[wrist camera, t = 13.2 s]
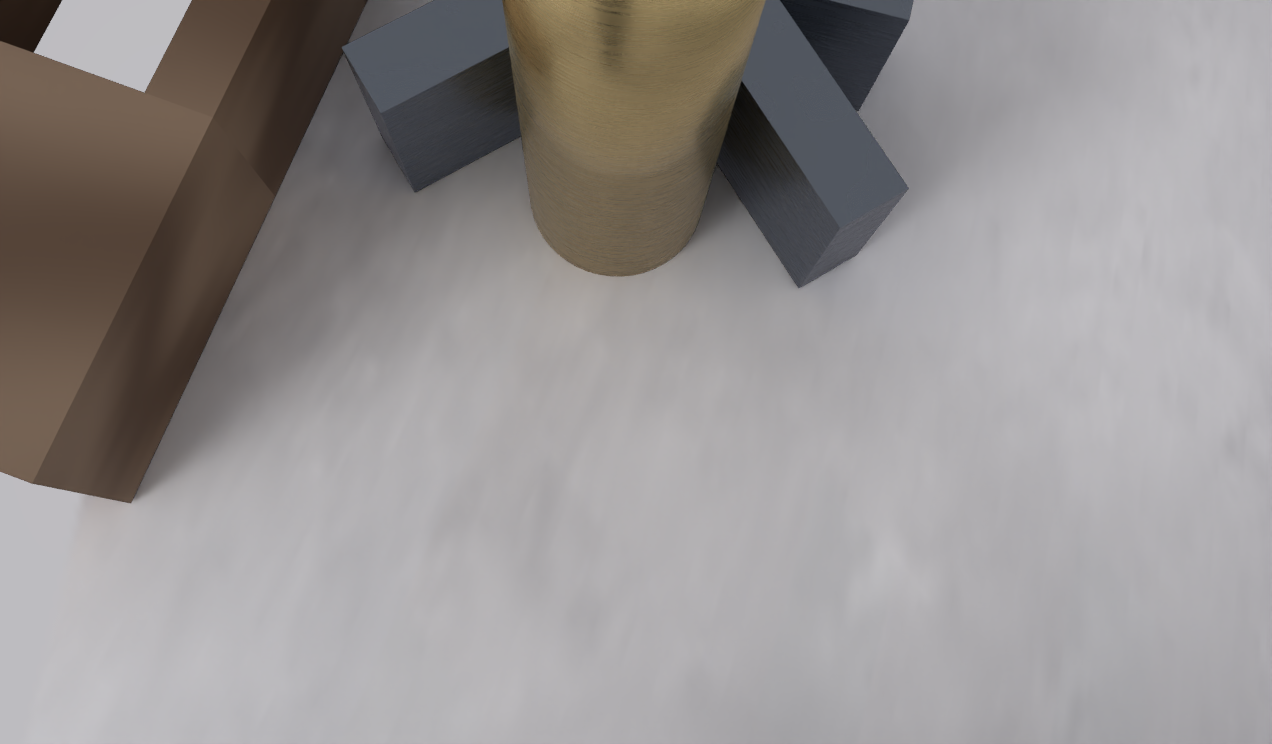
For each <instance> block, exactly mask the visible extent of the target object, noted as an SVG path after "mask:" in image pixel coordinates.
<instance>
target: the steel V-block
mask: <svg viewBox="0 0 1272 744" xmlns="http://www.w3.org/2000/svg"><path fill="white" fill-rule="evenodd" d="M912 5H913V0H766V1H765V4H764V7H763V11H762V14H761V17H760V21H759V24H758V27H757V31H756V34H755V37H754V40H753V44H752V47H751V50H750V54H749V57H748V60H747V64H746V67H745V70H744V74H743V77H742V80H741V83H740V87H739V90H738V93H737V97H736V100H735V103H734V107H733V110H732V113H731V116H730V120H729V123H728V126H727V130H726V133H725V136H724V140H723V143H722V146H721V149H720V153H719V156H718V159H717V164H718V165H719V167H720V168H721V170H722V172H723V173H724V175H725V176H726V178H727V179H728V181H729V182H730V184H731V185H732V187H733V188H734V190H735V191H736V193H737V195H738V196H739V198H740V199H741V201H742V202H743V204H744V205H745V207H746V208H747V210H748V211H749V213H750V214H751V216H752V218H753V219H754V221H755V222H756V224H757V225H758V227H759V228H760V230H761V231H762V233H763V234H764V236H765V237H766V239H767V241H768V242H769V244H770V245H771V247H772V248H773V250H774V251H775V253H776V254H777V256H778V257H779V259H780V260H781V262H782V264H783V265H784V267H785V268H786V270H787V271H788V273H789V274H790V276H791V277H792V279H793V280H794V282H795V283H796V285H797V286H798V288H801V287H802V286H804V285H806V284H807V283H809V282H811V281H813V280H814V279H816V278H818V277H819V276H821V275H823V274H825V273H826V272H828V271H830V270H831V269H833V268H835V267H837V266H838V265H840V264H842V263H843V262H845V261H847V260H849V259H850V258H852V257H854V256H855V255H857V254H858V252H859V251H860V250H861V249H862V247H863V246H864V245H865V243H866V242H867V241H868V240H869V238H870V237H871V236H872V235H873V233H874V232H875V231H876V230H877V228H878V227H879V226H880V224H881V223H882V222H883V221H884V219H885V218H886V217H887V216H888V214H889V213H890V212H891V211H892V209H893V208H894V207H895V205H896V204H897V203H898V202H899V200H900V199H901V198H902V197H903V195H904V194H905V193H906V191H907V190H908V189H909V188H908V187H907V185H906V184H905V182H904V181H903V179H902V178H901V176H900V175H899V173H898V172H897V170H896V169H895V168H894V166H893V165H892V163H891V162H890V160H889V159H888V157H887V156H886V154H885V153H884V151H883V150H882V149H881V147H880V146H879V144H878V143H877V141H876V140H875V138H874V137H873V135H872V134H871V132H870V131H869V130H868V128H867V127H866V125H865V124H864V122H863V121H862V119H861V118H860V116H859V115H858V114H857V112H856V111H855V110H857V111H859V109H860V107H861V106H862V104H863V102H864V100H865V99H866V97H867V95H868V93H869V91H870V90H871V88H872V86H873V84H874V82H875V81H876V79H877V77H878V75H879V73H880V72H881V70H882V68H883V66H884V64H885V63H886V61H887V59H888V57H889V55H890V54H891V52H892V50H893V48H894V47H895V45H896V43H897V41H898V39H899V38H900V36H901V34H902V32H903V30H904V29H905V27H906V25H907V23H908V21H909V19H910V14H911V9H912ZM342 49H343V52H344V54H345V56H346V58H347V61H348V63H349V65H350V67H351V69H352V72H353V74H354V76H355V78H356V80H357V83H358V85H359V87H360V89H361V91H362V94H363V96H364V98H365V100H366V103H367V105H368V107H369V109H370V111H371V114H372V116H373V118H374V120H375V122H376V125H377V127H378V129H379V131H380V134H381V136H382V138H383V139H384V141H385V143H386V144H387V146H388V148H389V149H390V151H391V153H392V154H393V156H394V158H395V159H396V161H397V163H398V165H399V166H400V168H401V170H402V171H403V173H404V175H405V176H406V178H407V180H408V181H409V183H410V185H411V186H412V188H413V190H414V192H417V191H419V190H421V189H422V188H424V187H426V186H428V185H430V184H432V183H434V182H436V181H437V180H439V179H441V178H443V177H445V176H447V175H449V174H451V173H453V172H454V171H456V170H458V169H460V168H462V167H464V166H466V165H468V164H469V163H471V162H473V161H475V160H477V159H479V158H481V157H483V156H484V155H486V154H488V153H490V152H492V151H494V150H496V149H498V148H499V147H501V146H503V145H505V144H507V143H509V142H511V141H513V140H514V139H516V138H518V137H520V136H521V131H520V124H519V116H518V109H517V102H516V95H515V88H514V81H513V74H512V67H511V60H510V53H509V46H508V38H507V31H506V24H505V17H504V10H503V3H502V0H434V1H432V2H430V3H428V4H426V5H424V6H422V7H420V8H418V9H416V10H414V11H412V12H410V13H408V14H406V15H404V16H402V17H400V18H398V19H396V20H394V21H392V22H390V23H388V24H386V25H384V26H382V27H380V28H378V29H376V30H374V31H372V32H370V33H368V34H366V35H364V36H362V37H360V38H358V39H356V40H354V41H352V42H350V43H348V44H346V45H344V46H343V47H342Z"/></svg>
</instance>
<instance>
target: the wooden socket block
mask: <svg viewBox="0 0 1272 744" xmlns="http://www.w3.org/2000/svg"><path fill="white" fill-rule="evenodd" d="M61 1H62V0H0V472H3V473H5V474H8V475H11V476H13V477H16V478H19V479H21V480H24V481H27V482H29V483H32V484H37V485H43V486H47V487H52V488H57V489H62V490H67V491H72V492H77V493H82V494H87V495H92V496H97V497H102V498H107V499H112V500H117V501H122V502H127V503H131V502H132V500H133V498H134V496H135V494H136V491H137V489H138V487H139V485H140V483H141V481H142V479H143V476H144V474H145V472H146V470H147V468H148V466H149V464H150V462H151V459H152V457H153V455H154V453H155V451H156V449H157V447H158V445H159V442H160V440H161V438H162V436H163V434H164V432H165V430H166V428H167V425H168V423H169V421H170V419H171V417H172V415H173V413H174V411H175V408H176V406H177V404H178V402H179V400H180V398H181V396H182V394H183V391H184V389H185V387H186V385H187V383H188V381H189V379H190V376H191V374H192V372H193V370H194V368H195V366H196V364H197V362H198V359H199V357H200V355H201V353H202V351H203V349H204V347H205V345H206V342H207V340H208V338H209V336H210V334H211V332H212V330H213V328H214V325H215V323H216V321H217V319H218V317H219V315H220V313H221V311H222V308H223V306H224V304H225V302H226V300H227V298H228V296H229V293H230V291H231V289H232V287H233V285H234V283H235V281H236V279H237V276H238V274H239V272H240V270H241V268H242V266H243V264H244V262H245V259H246V257H247V255H248V253H249V251H250V249H251V247H252V245H253V242H254V240H255V238H256V236H257V234H258V232H259V230H260V228H261V225H262V223H263V221H264V219H265V217H266V215H267V213H268V210H269V208H270V206H271V204H272V202H273V200H274V198H275V196H276V193H277V191H278V189H279V187H280V185H281V183H282V181H283V179H284V176H285V174H286V172H287V170H288V168H289V166H290V164H291V162H292V159H293V157H294V155H295V153H296V151H297V149H298V147H299V145H300V142H301V140H302V138H303V136H304V134H305V132H306V130H307V128H308V125H309V123H310V121H311V119H312V117H313V115H314V113H315V110H316V108H317V106H318V104H319V102H320V100H321V98H322V96H323V93H324V91H325V89H326V87H327V85H328V83H329V81H330V79H331V76H332V74H333V72H334V70H335V68H336V66H337V64H338V62H339V59H340V57H341V55H342V53H343V49H342V47H343V46H344V45H346V44H347V42H348V40H349V38H350V36H351V34H352V32H353V30H354V27H355V25H356V23H357V21H358V19H359V17H360V15H361V13H362V10H363V8H364V6H365V4H366V2H367V0H192V1H191V3H190V5H189V7H188V9H187V11H186V13H185V15H184V17H183V19H182V21H181V23H180V25H179V27H178V29H177V31H176V33H175V35H174V37H173V38H172V41H171V43H170V45H169V46H168V48H167V50H166V52H165V54H164V56H163V58H162V60H161V62H160V64H159V66H158V68H157V70H156V72H155V74H154V75H153V77H152V79H151V82H150V83H149V85H148V87H147V89H146V91H145V93H144V92H141V91H138V90H135V89H133V88H130V87H127V86H124V85H121V84H119V83H116V82H113V81H110V80H108V79H105V78H102V77H99V76H96V75H94V74H91V73H88V72H85V71H83V70H80V69H77V68H74V67H71V66H68V65H66V64H63V63H60V62H57V61H54V60H52V59H49V58H47V57H44V56H41V55H38V54H35V53H34V51H35V49H36V47H37V45H38V43H39V41H40V40H41V38H42V36H43V34H44V32H45V31H46V29H47V27H48V25H49V23H50V21H51V20H52V18H53V16H54V14H55V12H56V10H57V8H58V7H59V5H60V3H61Z"/></svg>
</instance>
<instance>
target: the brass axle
mask: <svg viewBox="0 0 1272 744" xmlns="http://www.w3.org/2000/svg"><path fill="white" fill-rule="evenodd" d="M765 1H766V0H502V3H503V10H504V17H505V24H506V31H507V38H508V46H509V53H510V60H511V67H512V74H513V81H514V88H515V95H516V102H517V109H518V116H519V124H520V131H521V138H522V145H523V152H524V159H525V166H526V173H527V180H528V187H529V195H530V202H531V208H532V212H533V216H534V219H535V222H536V224H537V227H538V229H539V230H540V232H541V234H542V236H543V237H544V239H545V240H546V241H547V243H548V244H549V245H550V247H551V248H552V249H553V250H554V251H555V252H556V253H557V254H559V255H560V256H561V257H562V258H564V259H565V260H566V261H568V262H570V263H571V264H573V265H575V266H576V267H579V268H581V269H583V270H586V271H588V272H592V273H595V274H599V275H606V276H630V275H636V274H640V273H644V272H647V271H650V270H652V269H655V268H657V267H659V266H661V265H662V264H664V263H666V262H667V261H669V260H670V259H671V258H673V257H674V256H675V255H676V254H677V253H678V252H679V251H681V250H682V248H683V247H684V246H685V245H686V244H687V242H688V241H689V240H690V238H691V236H692V235H693V233H694V231H695V229H696V227H697V224H698V222H699V219H700V216H701V212H702V209H703V206H704V202H705V199H706V196H707V192H708V189H709V186H710V183H711V179H712V176H713V173H714V169H715V166H716V163H717V159H718V156H719V153H720V149H721V146H722V143H723V140H724V136H725V133H726V130H727V126H728V123H729V120H730V116H731V113H732V110H733V107H734V103H735V100H736V97H737V93H738V90H739V87H740V83H741V80H742V77H743V74H744V70H745V67H746V64H747V60H748V57H749V54H750V50H751V47H752V44H753V40H754V37H755V34H756V31H757V27H758V24H759V21H760V17H761V14H762V11H763V7H764V4H765Z"/></svg>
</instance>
